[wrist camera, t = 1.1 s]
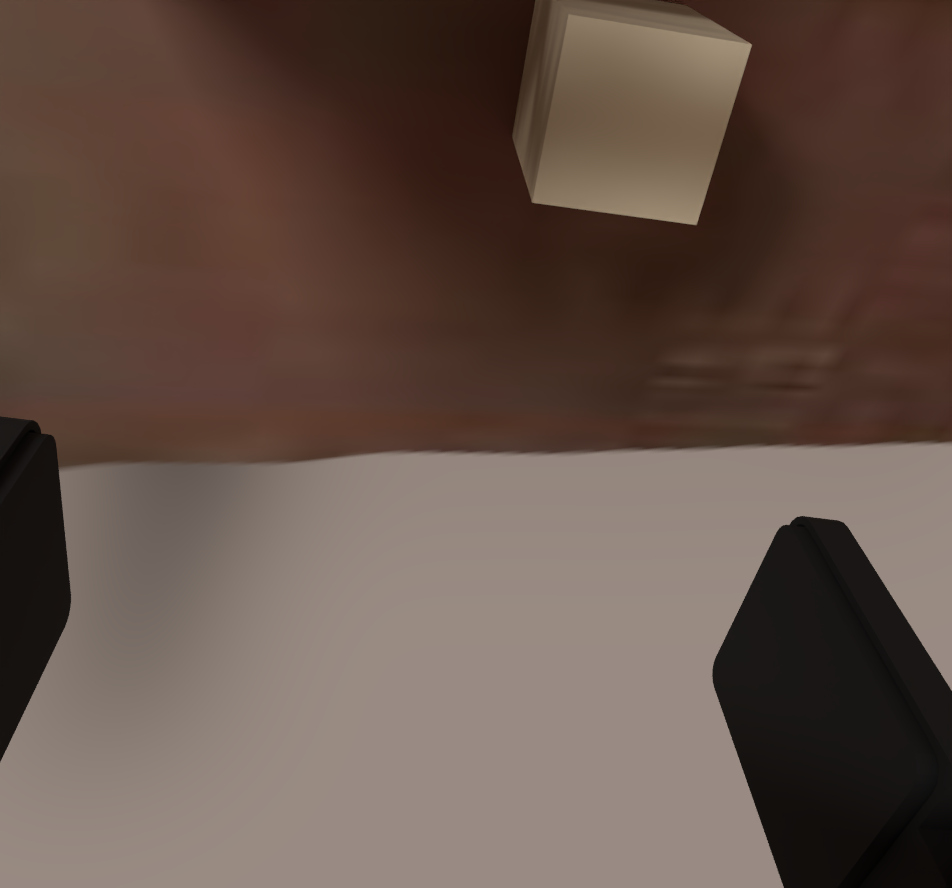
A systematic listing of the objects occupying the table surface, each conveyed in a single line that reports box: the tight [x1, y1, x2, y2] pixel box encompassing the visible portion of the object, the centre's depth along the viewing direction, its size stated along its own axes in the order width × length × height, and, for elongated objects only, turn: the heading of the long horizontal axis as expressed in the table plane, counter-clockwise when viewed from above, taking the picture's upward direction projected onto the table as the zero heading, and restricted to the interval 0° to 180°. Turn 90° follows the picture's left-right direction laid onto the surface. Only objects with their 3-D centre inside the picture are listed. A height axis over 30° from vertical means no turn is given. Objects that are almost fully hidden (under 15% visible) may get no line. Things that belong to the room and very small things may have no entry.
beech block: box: [512, 0, 752, 225], centre depth 27 cm, size 5×5×7 cm
